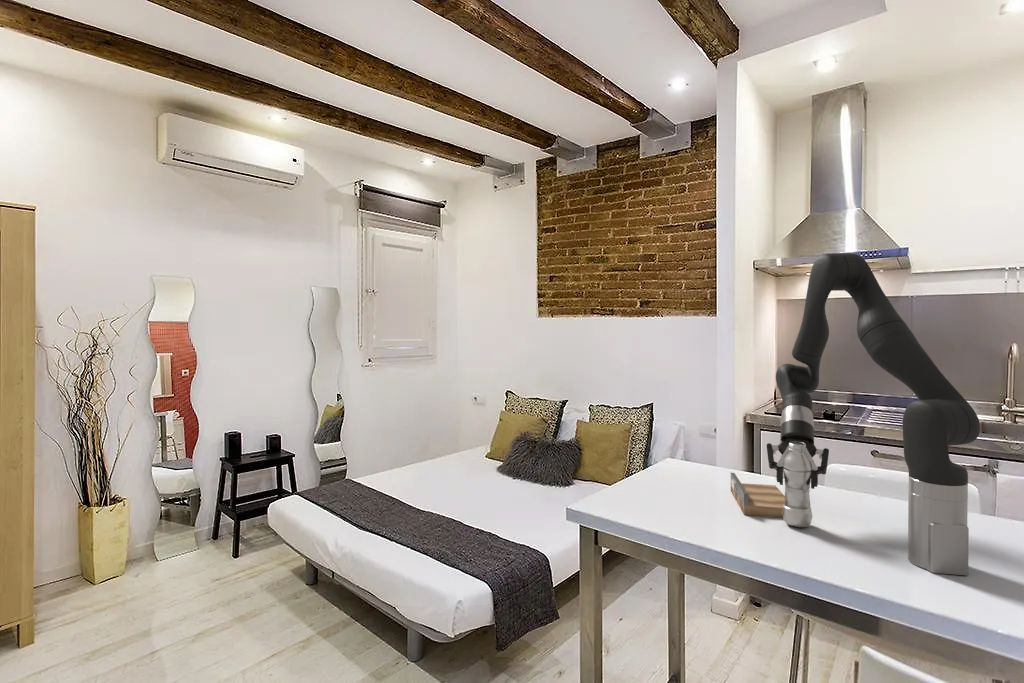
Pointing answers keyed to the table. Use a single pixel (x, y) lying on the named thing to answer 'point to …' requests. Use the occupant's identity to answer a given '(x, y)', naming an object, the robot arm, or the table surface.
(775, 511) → the shelf board
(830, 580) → the table surface
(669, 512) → the table surface
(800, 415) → the robot arm
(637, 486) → the table surface
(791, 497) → the silver bottle
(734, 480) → the rail
